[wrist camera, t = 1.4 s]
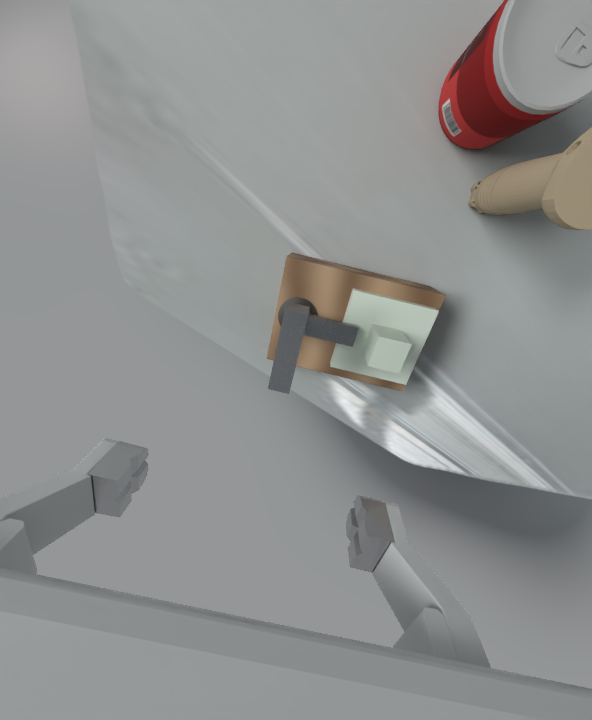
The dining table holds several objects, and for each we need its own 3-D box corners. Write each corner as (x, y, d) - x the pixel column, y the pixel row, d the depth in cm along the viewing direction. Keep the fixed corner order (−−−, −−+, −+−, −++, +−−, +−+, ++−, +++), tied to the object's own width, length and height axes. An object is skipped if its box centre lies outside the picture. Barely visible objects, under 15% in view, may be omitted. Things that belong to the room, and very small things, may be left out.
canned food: (494, 162, 29) (585, 128, 19) (420, 136, 28) (472, 88, 19) (544, 63, 26) (685, -42, 16) (460, 32, 25) (550, -94, 15)
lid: (435, 307, 30) (455, 322, 26) (403, 379, 34) (415, 404, 30) (353, 288, 30) (358, 299, 26) (330, 362, 34) (331, 383, 29)
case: (429, 286, 34) (446, 295, 30) (393, 372, 39) (402, 391, 35) (291, 252, 34) (286, 256, 29) (273, 343, 39) (266, 359, 34)
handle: (443, 212, 31) (536, 200, 17) (489, 149, 28) (641, 78, 15) (477, 237, 32) (592, 244, 18) (525, 178, 29) (701, 135, 16)
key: (363, 300, 31) (381, 333, 21) (345, 358, 34) (353, 409, 24) (290, 282, 30) (275, 307, 21) (277, 342, 33) (259, 386, 24)
